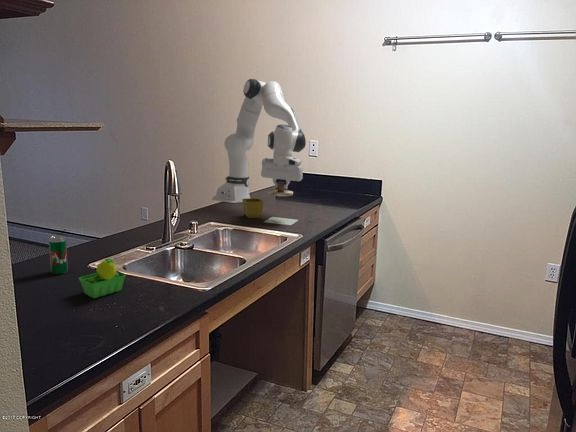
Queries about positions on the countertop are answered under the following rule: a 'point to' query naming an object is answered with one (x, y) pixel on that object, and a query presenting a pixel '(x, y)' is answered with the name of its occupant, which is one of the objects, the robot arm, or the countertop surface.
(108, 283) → the fruit basket
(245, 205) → the flower pot
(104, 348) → the countertop surface
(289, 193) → the lid
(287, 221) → the mat
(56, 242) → the soda can
